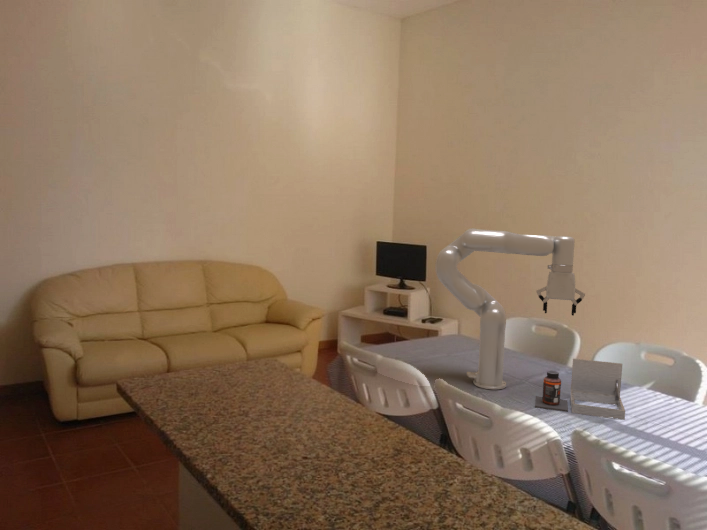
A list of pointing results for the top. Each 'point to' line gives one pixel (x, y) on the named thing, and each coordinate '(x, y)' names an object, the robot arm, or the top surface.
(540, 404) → the mat
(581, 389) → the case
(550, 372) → the supplement bottle
